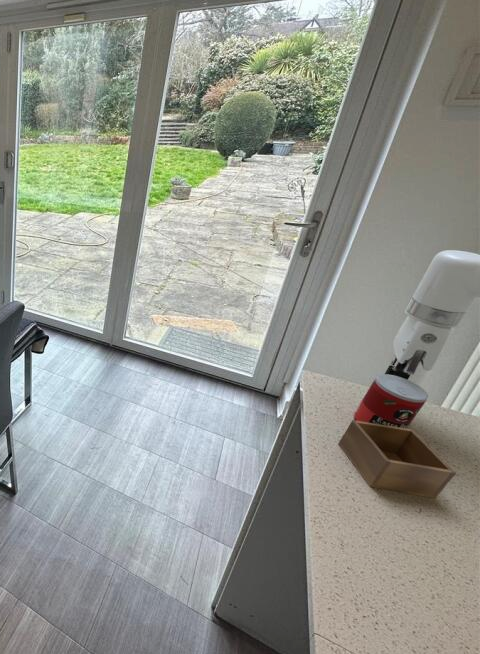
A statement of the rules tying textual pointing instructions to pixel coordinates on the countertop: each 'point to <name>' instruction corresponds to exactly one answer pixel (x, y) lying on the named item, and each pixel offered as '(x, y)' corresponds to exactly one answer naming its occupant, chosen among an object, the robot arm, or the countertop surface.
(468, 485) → the countertop surface
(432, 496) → the box
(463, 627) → the countertop surface
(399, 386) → the canned food
